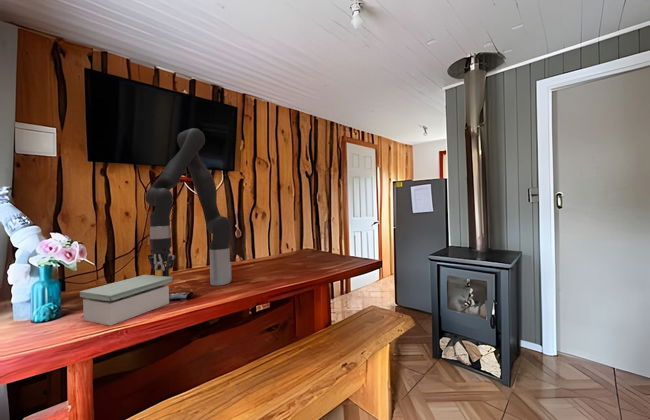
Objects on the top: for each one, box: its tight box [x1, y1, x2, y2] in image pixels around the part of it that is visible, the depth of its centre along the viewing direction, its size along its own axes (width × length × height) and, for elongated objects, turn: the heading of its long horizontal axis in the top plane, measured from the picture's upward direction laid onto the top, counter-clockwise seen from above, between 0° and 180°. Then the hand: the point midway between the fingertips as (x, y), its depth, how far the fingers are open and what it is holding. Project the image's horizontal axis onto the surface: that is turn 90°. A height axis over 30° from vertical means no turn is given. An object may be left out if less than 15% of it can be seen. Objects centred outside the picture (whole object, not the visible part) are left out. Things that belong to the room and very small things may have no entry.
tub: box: [82, 284, 170, 326], centre depth 101 cm, size 21×14×7 cm, turn 159°
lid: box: [79, 269, 174, 301], centre depth 102 cm, size 27×16×4 cm, turn 159°
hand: (162, 278), depth 113 cm, fingers closed on lid, 3 cm apart
